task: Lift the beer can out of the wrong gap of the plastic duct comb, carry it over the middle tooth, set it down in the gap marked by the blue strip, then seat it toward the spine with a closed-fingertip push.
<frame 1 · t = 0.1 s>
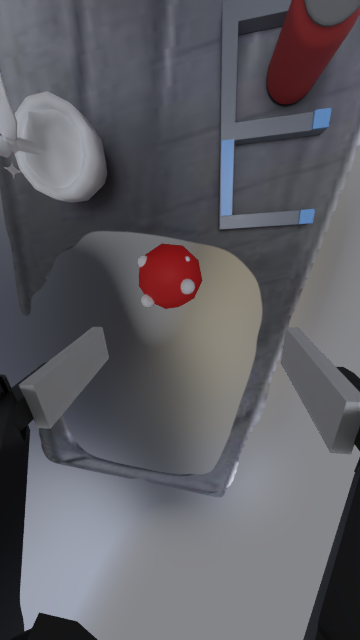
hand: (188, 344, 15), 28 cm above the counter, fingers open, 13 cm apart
potted plant: (92, 168, 36), on the counter
beer can: (289, 77, 29), on the counter
duct comb: (226, 138, 32), on the counter
mushroom: (175, 270, 41), on the counter
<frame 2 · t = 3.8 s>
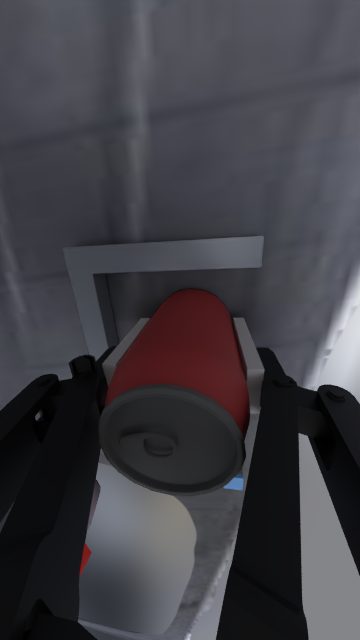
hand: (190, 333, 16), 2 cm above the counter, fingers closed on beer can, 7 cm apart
beer can: (193, 322, 19), on the counter, touching gripper
duct comb: (115, 374, 22), on the counter
mushroom: (80, 480, 31), on the counter
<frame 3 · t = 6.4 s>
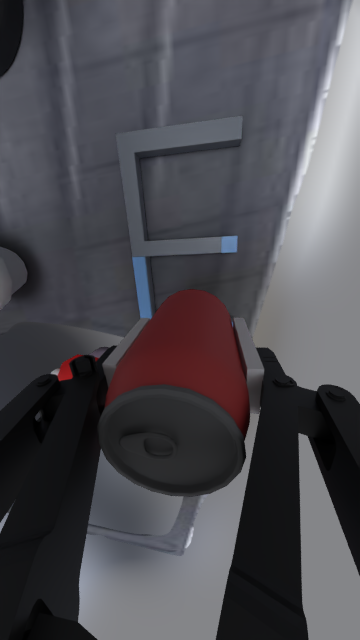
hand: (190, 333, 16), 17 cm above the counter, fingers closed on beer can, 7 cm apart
potted plant: (13, 266, 35), on the counter
beer can: (193, 322, 19), point 14 cm above the counter, touching gripper
duct comb: (142, 248, 31), on the counter
mushroom: (108, 359, 40), on the counter
when the fingers open (4 cm above the counter, at t = 9.1 s): beer can drops 1 cm, on the counter.
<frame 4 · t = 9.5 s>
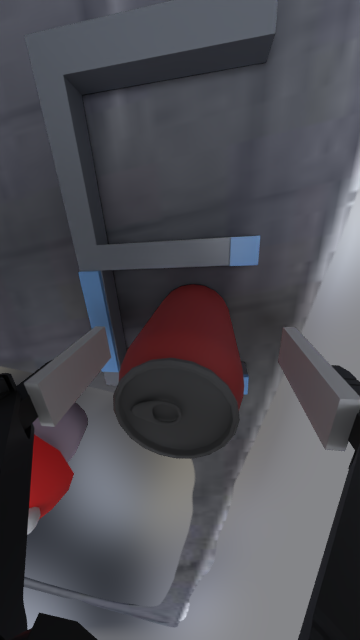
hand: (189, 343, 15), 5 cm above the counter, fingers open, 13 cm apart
beer can: (194, 315, 20), on the counter
duct comb: (99, 256, 19), on the counter
mushroom: (65, 412, 28), on the counter
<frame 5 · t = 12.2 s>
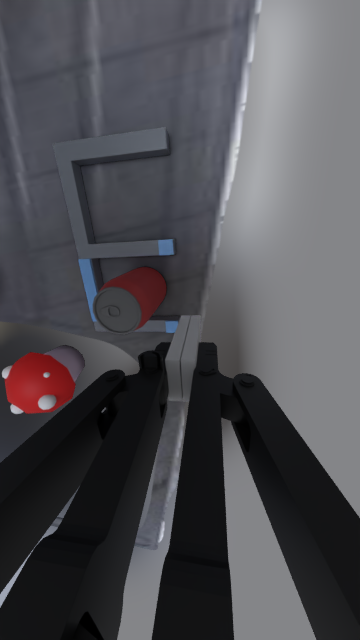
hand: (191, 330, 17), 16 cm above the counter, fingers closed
beer can: (147, 286, 33), on the counter
duct comb: (90, 250, 32), on the counter
mushroom: (69, 357, 41), on the counter
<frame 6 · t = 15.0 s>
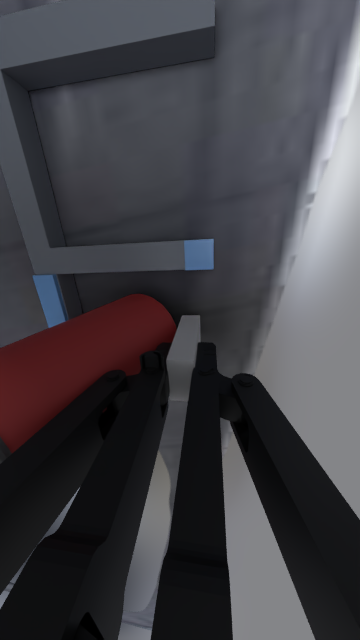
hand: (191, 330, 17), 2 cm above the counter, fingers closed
beer can: (151, 326, 18), point 1 cm above the counter, touching gripper
duct comb: (58, 259, 18), on the counter
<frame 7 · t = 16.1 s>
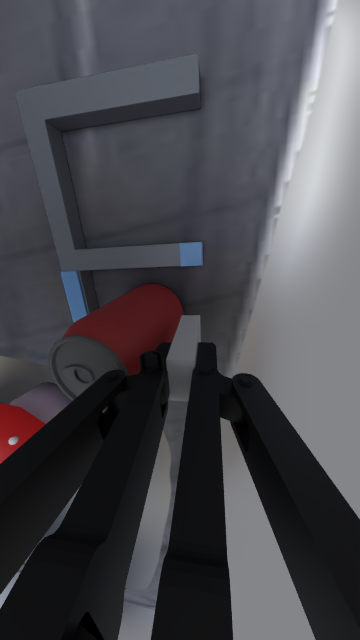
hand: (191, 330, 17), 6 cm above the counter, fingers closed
beer can: (157, 310, 23), on the counter, touching gripper
duct comb: (79, 259, 23), on the counter
mushroom: (54, 397, 31), on the counter
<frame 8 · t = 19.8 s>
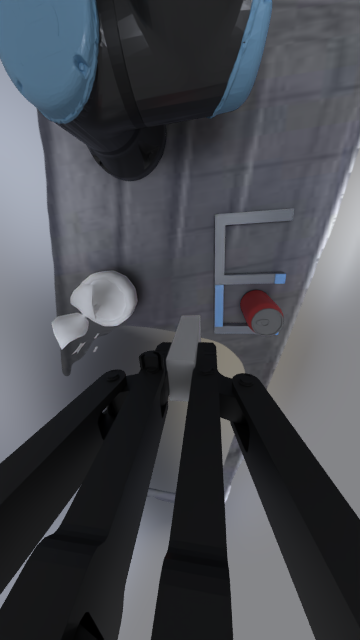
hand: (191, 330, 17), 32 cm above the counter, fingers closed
potted plant: (124, 288, 51), on the counter
beer can: (254, 302, 48), on the counter
duct comb: (219, 278, 47), on the counter
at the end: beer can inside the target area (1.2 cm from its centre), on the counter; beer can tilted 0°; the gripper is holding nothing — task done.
